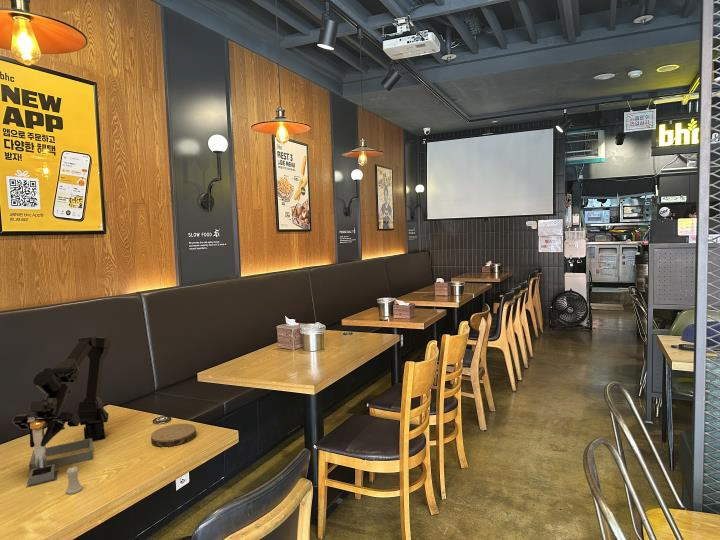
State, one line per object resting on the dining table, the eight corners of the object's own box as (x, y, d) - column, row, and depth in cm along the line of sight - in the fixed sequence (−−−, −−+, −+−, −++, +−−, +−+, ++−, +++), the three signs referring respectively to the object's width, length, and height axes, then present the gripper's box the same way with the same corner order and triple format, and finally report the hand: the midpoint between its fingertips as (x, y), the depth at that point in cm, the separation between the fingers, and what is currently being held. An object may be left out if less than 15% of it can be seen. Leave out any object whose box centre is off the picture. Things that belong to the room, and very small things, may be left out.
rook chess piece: (70, 490, 145) (68, 465, 144) (85, 489, 145) (83, 464, 145) (62, 498, 140) (60, 472, 140) (78, 497, 141) (76, 471, 140)
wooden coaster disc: (169, 451, 170) (168, 443, 170) (142, 443, 179) (141, 435, 178) (205, 435, 184) (204, 427, 183) (178, 428, 192) (177, 421, 192)
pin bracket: (58, 473, 157) (57, 462, 157) (57, 483, 150) (56, 472, 150) (29, 479, 153) (28, 469, 153) (26, 490, 146) (25, 479, 146)
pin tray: (92, 448, 175) (92, 437, 175) (93, 461, 164) (92, 450, 164) (34, 461, 166) (33, 450, 166) (30, 476, 155) (29, 464, 155)
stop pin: (49, 462, 154) (45, 418, 153) (48, 467, 150) (44, 422, 149) (34, 465, 152) (30, 421, 151) (33, 470, 148) (29, 425, 147)
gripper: (12, 390, 153) (-9, 438, 143) (72, 387, 154) (54, 434, 144) (30, 406, 161) (11, 452, 151) (87, 402, 162) (71, 448, 152)
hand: (36, 446), depth 149 cm, fingers closed on stop pin, 3 cm apart
